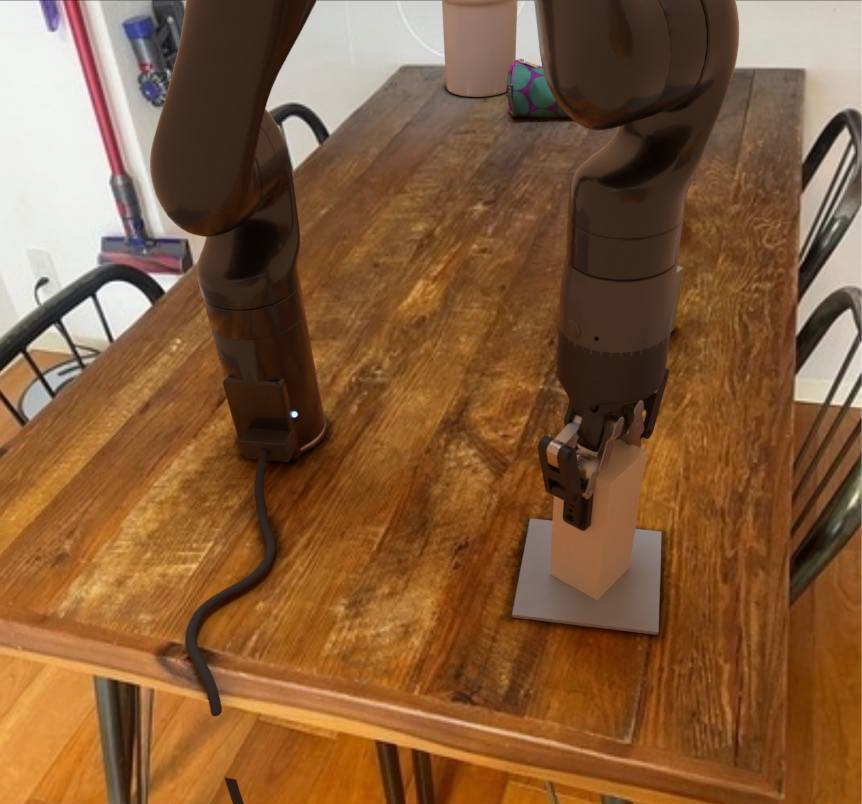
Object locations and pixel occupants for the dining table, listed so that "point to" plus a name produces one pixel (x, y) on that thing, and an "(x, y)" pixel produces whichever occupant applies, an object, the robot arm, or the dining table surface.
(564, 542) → the carton
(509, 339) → the dining table surface
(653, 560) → the mat
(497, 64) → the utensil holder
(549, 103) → the pencil case
